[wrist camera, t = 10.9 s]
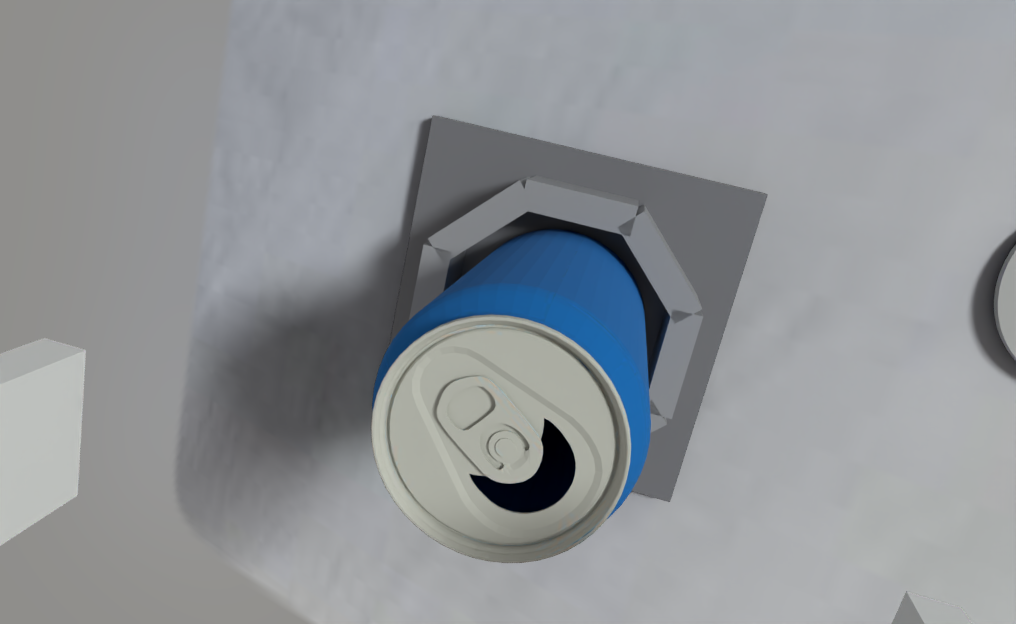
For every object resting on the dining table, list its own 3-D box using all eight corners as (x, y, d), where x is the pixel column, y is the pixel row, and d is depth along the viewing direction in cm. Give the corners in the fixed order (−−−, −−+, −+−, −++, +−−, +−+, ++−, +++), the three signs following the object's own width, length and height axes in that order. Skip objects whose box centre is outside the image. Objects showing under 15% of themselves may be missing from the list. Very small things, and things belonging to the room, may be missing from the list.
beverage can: (544, 428, 28) (482, 630, 17) (436, 300, 28) (293, 416, 16) (681, 328, 26) (717, 476, 15) (567, 189, 26) (513, 230, 14)
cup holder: (437, 115, 27) (412, 113, 24) (764, 193, 25) (780, 200, 22) (380, 411, 30) (353, 441, 27) (669, 494, 28) (672, 534, 26)
